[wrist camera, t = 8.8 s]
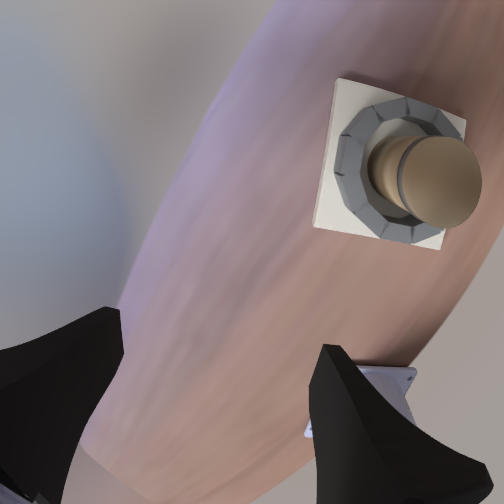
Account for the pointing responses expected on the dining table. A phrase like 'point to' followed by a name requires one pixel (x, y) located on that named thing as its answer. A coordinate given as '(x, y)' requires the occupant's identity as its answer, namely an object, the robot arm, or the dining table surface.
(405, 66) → the dining table surface
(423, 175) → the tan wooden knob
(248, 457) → the dining table surface
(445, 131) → the collar stand
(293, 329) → the dining table surface
